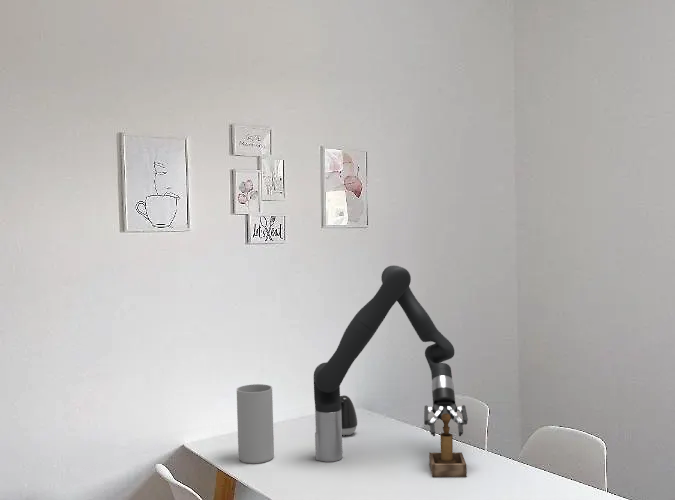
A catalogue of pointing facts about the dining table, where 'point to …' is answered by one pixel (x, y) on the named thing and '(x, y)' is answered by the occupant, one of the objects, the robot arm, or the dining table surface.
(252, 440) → the cylinder vase
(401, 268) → the robot arm
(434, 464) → the box
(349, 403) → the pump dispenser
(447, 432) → the brown wooden chess piece
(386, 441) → the dining table surface
